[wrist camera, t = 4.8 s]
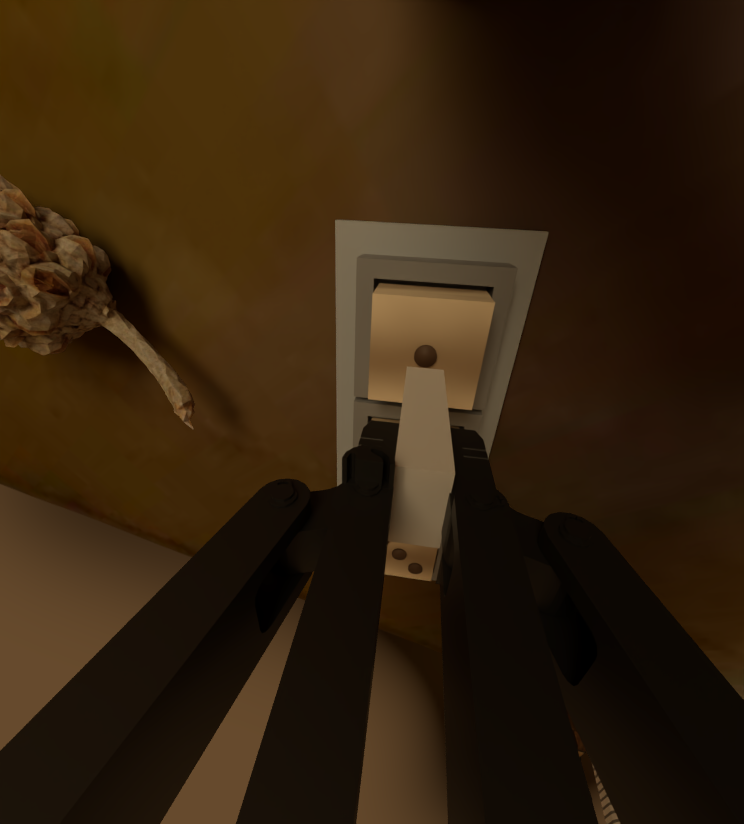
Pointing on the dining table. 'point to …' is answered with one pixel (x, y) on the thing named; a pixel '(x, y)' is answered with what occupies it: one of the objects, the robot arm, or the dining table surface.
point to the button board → (433, 267)
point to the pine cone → (64, 291)
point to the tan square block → (428, 339)
